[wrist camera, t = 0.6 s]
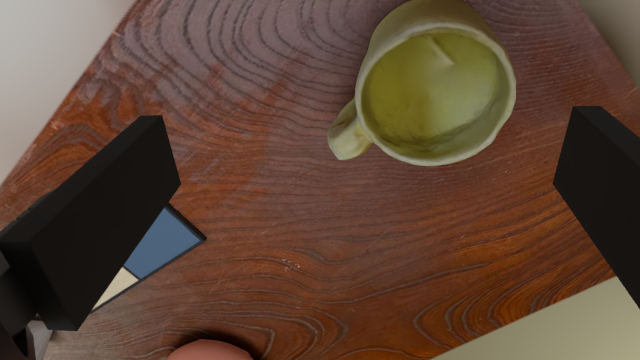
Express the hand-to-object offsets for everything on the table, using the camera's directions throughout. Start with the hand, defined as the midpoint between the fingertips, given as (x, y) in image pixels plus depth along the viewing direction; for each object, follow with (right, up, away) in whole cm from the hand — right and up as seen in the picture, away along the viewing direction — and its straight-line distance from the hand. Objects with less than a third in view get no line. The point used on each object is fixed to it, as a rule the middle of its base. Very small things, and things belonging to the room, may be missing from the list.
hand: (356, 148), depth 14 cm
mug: (+5, +7, +18) cm, 20 cm away
